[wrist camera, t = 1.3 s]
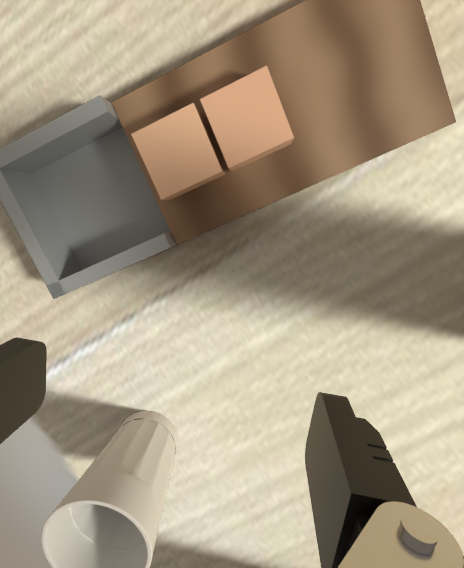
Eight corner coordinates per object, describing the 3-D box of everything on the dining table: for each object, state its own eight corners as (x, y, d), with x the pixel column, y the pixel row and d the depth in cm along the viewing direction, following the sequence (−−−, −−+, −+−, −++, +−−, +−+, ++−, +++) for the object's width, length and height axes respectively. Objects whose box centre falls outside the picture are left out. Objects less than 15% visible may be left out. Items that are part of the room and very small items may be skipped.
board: (390, -28, 26) (404, -52, 23) (438, 129, 28) (456, 122, 25) (123, 111, 29) (111, 102, 27) (183, 242, 31) (176, 244, 29)
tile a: (266, 78, 26) (266, 65, 23) (290, 144, 27) (294, 137, 24) (205, 109, 27) (199, 99, 24) (231, 171, 27) (228, 168, 25)
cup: (96, 433, 36) (19, 539, 25) (148, 388, 35) (92, 480, 23) (149, 484, 37) (98, 610, 26) (202, 443, 36) (175, 557, 24)
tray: (123, 111, 29) (100, 95, 25) (182, 242, 31) (170, 247, 27) (17, 166, 31) (-22, 160, 27) (80, 287, 33) (53, 299, 29)
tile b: (199, 112, 27) (193, 102, 24) (225, 174, 27) (222, 171, 25) (142, 140, 27) (131, 134, 25) (169, 200, 28) (161, 199, 26)
